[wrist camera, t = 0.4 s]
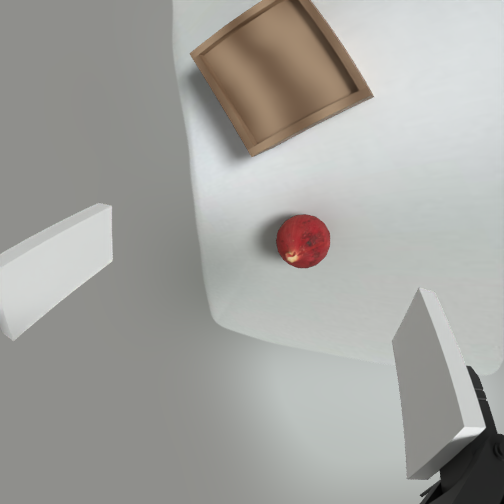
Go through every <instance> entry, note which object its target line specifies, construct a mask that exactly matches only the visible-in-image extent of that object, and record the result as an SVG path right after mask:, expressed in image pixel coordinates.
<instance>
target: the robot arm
mask: <svg viewBox="0 0 504 504" xmlns="http://www.w3.org/2000/svg"><path fill="white" fill-rule="evenodd" d="M112 255H113V254H112V206H110V205H106V204H102V203H97V204H95V205H93V206H91V207H89V208H87V209H85V210H83V211H80V212H78V213H76V214H74V215H72V216H70V217H68V218H66V219H64V220H62V221H60V222H58V223H57V224H54V225H52V226H51V227H49V228H47V229H45V230H43V231H41V232H39V233H37V234H35V235H33V236H32V237H30V238H28V239H26V240H24V241H23V242H21V243H19V244H17V245H15V246H14V247H12V248H10V249H8V250H7V251H5V252H3V253H2V254H0V329H1V331H2V333H4V334H5V335H6V336H8V337H9V338H10V339H11V340H13V341H14V340H15V339H16V338H18V337H19V336H20V335H21V334H22V333H23V332H25V330H27V329H28V328H29V327H30V326H31V325H33V324H34V323H35V322H36V321H37V320H38V319H40V318H41V317H42V316H43V315H45V314H46V313H47V312H48V311H49V310H51V309H52V308H53V307H54V306H55V305H57V304H58V303H59V302H60V301H62V300H63V299H64V298H65V297H67V296H68V295H69V294H70V293H72V292H73V291H74V290H75V289H77V288H78V287H79V286H80V285H82V284H83V283H84V282H86V281H87V280H88V279H89V278H91V277H92V276H93V275H95V274H96V273H97V272H99V271H100V270H101V269H102V268H104V267H105V266H106V265H108V264H109V263H110V262H112V261H113V256H112ZM392 345H393V350H394V356H395V363H396V369H397V376H398V382H399V390H400V398H401V407H402V416H403V425H404V438H405V451H406V469H407V479H418V480H428V479H429V478H430V477H432V476H433V475H434V474H435V473H437V472H438V471H439V470H440V478H441V480H439V481H438V482H437V483H435V484H434V485H433V486H431V487H430V488H428V489H427V490H426V491H424V492H423V493H422V494H421V495H420V496H421V497H423V496H424V495H426V494H427V493H428V494H427V495H426V497H425V498H424V499H423V500H422V502H421V503H420V504H504V435H502V434H497V430H496V427H495V424H494V420H493V417H492V414H491V411H490V407H489V404H488V401H486V395H485V393H484V391H483V387H482V384H481V382H480V379H479V377H478V375H477V374H476V373H475V371H474V370H473V369H472V367H471V366H466V364H465V362H464V359H463V357H462V354H461V351H460V349H459V346H458V344H457V341H456V339H455V336H454V334H453V332H452V329H451V327H450V325H449V322H448V320H447V318H446V316H445V313H444V311H443V309H442V307H441V304H440V302H439V300H438V298H437V296H436V294H435V292H433V291H430V290H426V289H422V288H418V290H417V292H416V294H415V296H414V299H413V301H412V303H411V305H410V307H409V309H408V311H407V313H406V315H405V317H404V319H403V321H402V323H401V325H400V327H399V329H398V331H397V333H396V334H395V336H394V338H393V340H392Z"/></svg>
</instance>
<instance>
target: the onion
mask: <svg viewBox="0 0 504 504" xmlns="http://www.w3.org/2000/svg"><path fill="white" fill-rule="evenodd" d="M276 244H277V248H278V252H279V254H280V255H281V257H282V258H283V260H284V261H286V262H287V263H288V264H290V265H292V266H294V267H297V268H309V267H312V266H315V265H317V264H318V263H319V262H320V261H321V260H322V259H324V257H325V256H326V255H327V252H328V249H329V247H330V233H329V231H328V229H327V227H326V225H325V224H324V223H323V222H322V221H321V220H319V219H318V218H317V217H315V216H311V215H306V214H304V215H296V216H293V217H292V218H290V219H288V220H286V221H285V222H284V224H283V225H282V226H281V227H280V229H279V230H278V233H277V239H276Z"/></svg>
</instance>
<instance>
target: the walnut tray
mask: <svg viewBox="0 0 504 504" xmlns="http://www.w3.org/2000/svg"><path fill="white" fill-rule="evenodd" d="M190 55H191V57H192V58H193V60H194V62H195V63H196V65H197V66H198V68H199V70H200V71H201V73H202V74H203V76H204V78H205V79H206V81H207V83H208V84H209V86H210V87H211V89H212V91H213V92H214V94H215V96H216V97H217V99H218V101H219V102H220V104H221V106H222V107H223V109H224V111H225V112H226V114H227V116H228V117H229V119H230V121H231V122H232V124H233V126H234V128H235V129H236V131H237V133H238V134H239V136H240V138H241V140H242V141H243V143H244V145H245V146H246V148H247V150H248V152H249V153H250V155H251V157H253V156H255V155H258V154H260V153H262V152H265V151H267V150H269V149H272V148H274V147H275V146H277V145H279V144H281V143H283V142H285V141H287V140H288V139H290V138H292V137H294V136H296V135H298V134H300V133H302V132H304V131H305V130H307V129H309V128H311V127H313V126H315V125H317V124H319V123H321V122H323V121H325V120H327V119H329V118H331V117H333V116H335V115H337V114H339V113H341V112H343V111H345V110H347V109H349V108H351V107H354V106H356V105H358V104H360V103H362V102H364V101H366V100H368V99H371V98H373V97H374V96H373V94H372V92H371V90H370V89H369V87H368V85H367V83H366V82H365V80H364V78H363V77H362V75H361V73H360V72H359V70H358V68H357V67H356V65H355V63H354V62H353V60H352V59H351V57H350V55H349V54H348V52H347V51H346V49H345V48H344V46H343V45H342V43H341V42H340V40H339V39H338V37H337V36H336V34H335V33H334V31H333V30H332V29H331V27H330V26H329V24H328V23H327V22H326V20H325V19H324V17H323V16H322V15H321V13H320V12H319V11H318V9H317V8H316V7H315V5H314V4H313V3H312V2H311V0H262V1H261V2H259V3H258V4H256V5H255V6H253V7H252V8H250V9H249V10H247V11H246V12H244V13H243V14H241V15H240V16H238V17H237V18H236V19H234V20H233V21H231V22H230V23H229V24H227V25H226V26H224V27H223V28H222V29H220V30H219V31H218V32H216V33H215V34H214V35H212V36H211V37H210V38H209V39H207V40H206V41H205V42H203V43H202V44H201V45H200V46H198V47H197V48H196V49H195V50H194V51H192V52H191V53H190Z"/></svg>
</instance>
